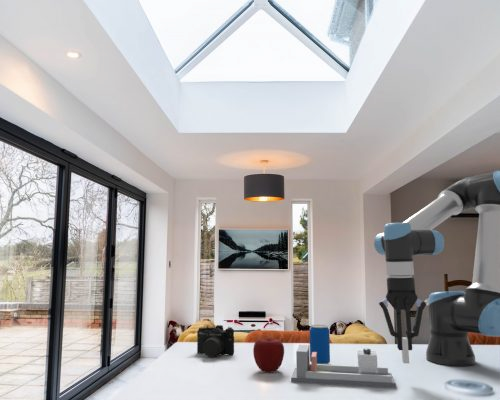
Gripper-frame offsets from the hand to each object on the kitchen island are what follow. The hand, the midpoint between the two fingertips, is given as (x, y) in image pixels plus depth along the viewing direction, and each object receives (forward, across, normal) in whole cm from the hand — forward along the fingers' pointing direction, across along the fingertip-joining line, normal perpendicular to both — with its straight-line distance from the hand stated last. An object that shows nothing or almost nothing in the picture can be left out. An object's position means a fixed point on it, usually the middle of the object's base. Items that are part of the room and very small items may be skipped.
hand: (405, 362), depth 122 cm
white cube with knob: (+4, +11, 0) cm, 11 cm away
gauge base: (+5, +18, 0) cm, 18 cm away
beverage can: (+6, +25, -18) cm, 31 cm away
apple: (+5, +40, -4) cm, 40 cm away
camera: (+5, +63, -22) cm, 67 cm away
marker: (+3, +25, 0) cm, 26 cm away
